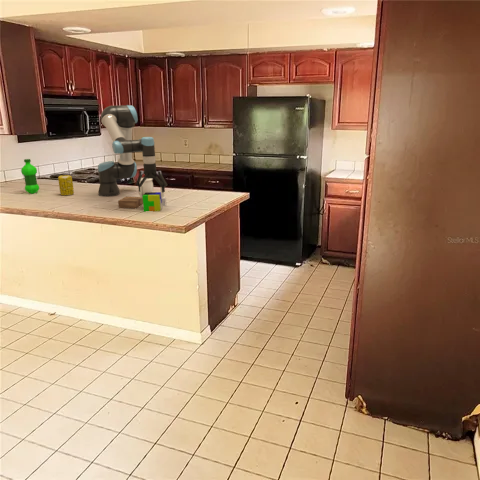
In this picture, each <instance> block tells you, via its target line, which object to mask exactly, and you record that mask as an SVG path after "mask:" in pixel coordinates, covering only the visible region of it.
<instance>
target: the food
mask: <svg viewBox="0 0 480 480" xmlns="http://www.w3.org/2000/svg"><path fill="white" fill-rule="evenodd" d="M57 180H58V186H59V187H58V188H59V192H60V195H61V196H72V195H74V194H75V192H74V190H75V189H74V181H73V176H71V175H68V174H66V175H59V176H58V177H57Z"/></svg>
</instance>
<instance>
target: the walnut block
mask: <svg viewBox="0 0 480 480" xmlns="http://www.w3.org/2000/svg"><path fill="white" fill-rule="evenodd" d="M117 203H118V205H117V206H118V208H119V209H135V208H136V209H137V208H140V207H141V206H143V197H140V196H125V197H122V198H121V199H119V200H118V201H117ZM139 206H140V207H139Z"/></svg>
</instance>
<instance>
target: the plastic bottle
mask: <svg viewBox="0 0 480 480" xmlns="http://www.w3.org/2000/svg"><path fill="white" fill-rule="evenodd" d="M23 162H24V163H25V164H24V166H22V167H21V169H20V172H21V174H22V175H23V178H24V183H25V186H24V190H25V191H26V192H27V193H28V194H32V195H33V194H37V193H38V192H39V190H40V186H39V184H38V182H37V176H36V175H37V173H38V169H37V167H36V166H34V165H33V164H32V163H31V162H32V161H31V158H25V159H23Z"/></svg>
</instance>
